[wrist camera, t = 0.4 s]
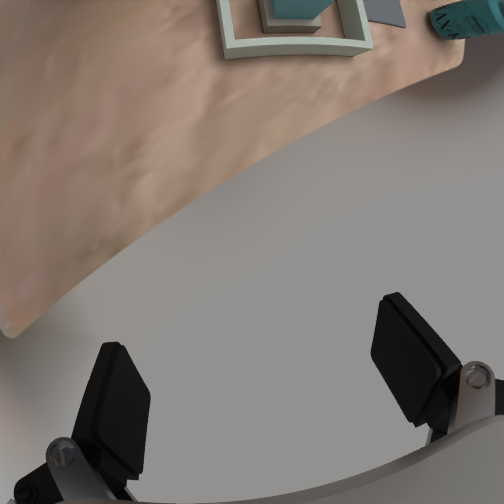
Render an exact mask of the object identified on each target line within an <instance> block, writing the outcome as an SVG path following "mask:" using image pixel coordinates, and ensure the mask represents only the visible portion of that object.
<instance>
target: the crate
mask: <svg viewBox="0 0 504 504" xmlns="http://www.w3.org/2000/svg"><path fill="white" fill-rule="evenodd" d="M258 3H259V9H260V14H261V20H262V25H263V31H264V33H277V32H310V33H315V32H316V31H317V30H318V29H320V28H321V27H322V23H321V19H320V14H319V15H318V16H317V17H316V18H315V19H314V20H311V19H275V18H274V12H273V7H272V2H271V0H258ZM216 4H217V10H218V17H219V24H220V31H221V37H222V44H223V51H224V58H225V60H227V59H236V58H245V57H256V56H271V55H300V54H313V55H342V56H356V55H359V54H361V53H364V52H366V51H369V50H372V49H373V44H372V39H371V34H370V29H369V25H368V20H367V16H366V12H365V8H364V4H363V0H337V4H338V8H339V12H340V17H341V21H342V26H343V31H344V36H345V39H341V38H325V37H266V38H251V39H240V40H235V39H234V32H233V26H232V20H231V13H230V7H229V1H228V0H216Z"/></svg>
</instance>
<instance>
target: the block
mask: <svg viewBox="0 0 504 504" xmlns="http://www.w3.org/2000/svg"><path fill="white" fill-rule="evenodd" d="M333 1H334V0H271V2H272V7H273V12H274V18H275V19H311V20H314V19H315V18H316V17H317V16H318V15H319V14H320V13H321V12H322V11H323V10H324V9H325V8H326V7H328V6H329V5H330V4H331V3H332V2H333Z"/></svg>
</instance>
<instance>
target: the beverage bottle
mask: <svg viewBox="0 0 504 504" xmlns="http://www.w3.org/2000/svg"><path fill="white" fill-rule="evenodd" d="M430 19H431V23H432V25H433V27H434V29H435V30H436V31H437V33H438V34H439V35H440V36H442V37H443V38H445V39H448V40H453V39H456V40H457V39H462V38H463V39H464V38H465V37H466V38H469V37H472V36H479V35H490V34H495V33H504V2H503V1H502V0H462V1H457V2H455V3H453V2H452V4H447V5H445V6H444V5H443V6H442V7H438V8H437V7H436V9H434V10H432V11H431V13H430Z"/></svg>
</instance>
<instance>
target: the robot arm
mask: <svg viewBox="0 0 504 504" xmlns="http://www.w3.org/2000/svg"><path fill="white" fill-rule="evenodd" d="M371 358H372V360H373V361H374V363H375V365H376V367H377V368H378V370H379V372H380V373H381V375H382V377H383V378H384V380H385V382H386V384H387V385H388V387H389V389H390V390H391V392H392V394H393V396H394V397H395V399H396V401H397V403H398V404H399V406H400V408H401V409H402V411H403V413H404V415H405V417H406V418H407V420H408V421H409V422H410V423H412V422H413V424H414V426H415V427H418V426H421V425H423V424H425V423H427V424H428V426H429V427H430V429H429V433H428V437H427V441H426V445H425V447H422V448H420V449H419V450H416V451H414V452H412V453H410V454H408V455H405V456H403V457H401V458H399V459H397V460H394V461H392V462H389V463H387V464H385V465H382V466H380V467H377V468H375V469H372V470H369V471H366V472H364V473H361V474H358V475H355V476H352V477H349V478H346V479H343V480H339V481H336V482H333V483H329V484H326V485H322V486H319V487H314V488H310V489H306V490H302V491H297V492H293V493H288V494H283V495H277V496H272V497H265V498H258V499H251V500H242V501H232V502H219V503H197V504H504V380H499V379H495V377H494V373H493V371H492V369H491V368H490V367H489V366H488V365H486V364H484V363H483V362H479V361H472V362H468V363H467V364H465V365H464V366H462V364H461V361H460V360H459V359H458V358H457V357H456V355H455V354H454V353H453V352H452V351H451V349H450V348H449V347H448V346H447V345H446V343H445V342H444V341H443V340H442V339H441V338H440V337H439V335H438V334H437V333H436V332H435V331H434V330H433V329H432V327H431V326H430V325H429V324H428V323H427V322H426V321H425V320H424V318H423V317H422V316H420V314H419V313H418V312H417V311H416V310H415V309H414V308H413V306H412V305H411V304H410V303H409V302H408V301H407V300H406V299H405V298H404V297H403V296H402V295H401V294H400V293H399V292H396V293H392V294H388V295H385V296H384V297H383V300H381V301H380V302H379V308H378V315H377V320H376V326H375V332H374V337H373V342H372V347H371ZM150 400H151V398H150V392H149V390H148V388H147V386H146V385H145V383H144V381H143V379H142V378H141V376H140V374H139V372H138V371H137V369H136V367H135V365H134V363H133V361H132V359H131V357H130V355H129V354H128V352H127V350H126V348H125V346H123V345H120V343H119V342H106V343H103V344H102V346H101V348H100V351H99V354H98V356H97V359H96V362H95V365H94V368H93V370H92V373H91V376H90V379H89V381H88V384H87V386H86V390H85V393H84V396H83V399H82V402H81V405H80V408H79V412H78V415H77V419H76V422H75V425H74V429H73V433H72V436H71V438H68V437H60V438H57V439H55V440H54V441H53V442H51V443H50V445H49V446H48V448H47V451H46V463H44V464H43V465H41V466H40V467H38V468H37V469H35V470H34V471H32V472H31V473H29V474H28V475H26V476H25V477H23V478H21V479H20V480H19V481H18V482H17V483H16V485H15V488H14V498H15V500H12V499H10V500H9V502H8V503H7V504H174V503H148V502H138V501H137V500H136V498H135V497H134V496H133V495H132V493H131V492H130V491H129V489H128V488H127V487H126V485H127V479H128V480H138V479H139V474H141V473H142V472H143V464H144V453H145V442H146V433H147V424H148V415H149V408H150Z"/></svg>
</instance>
